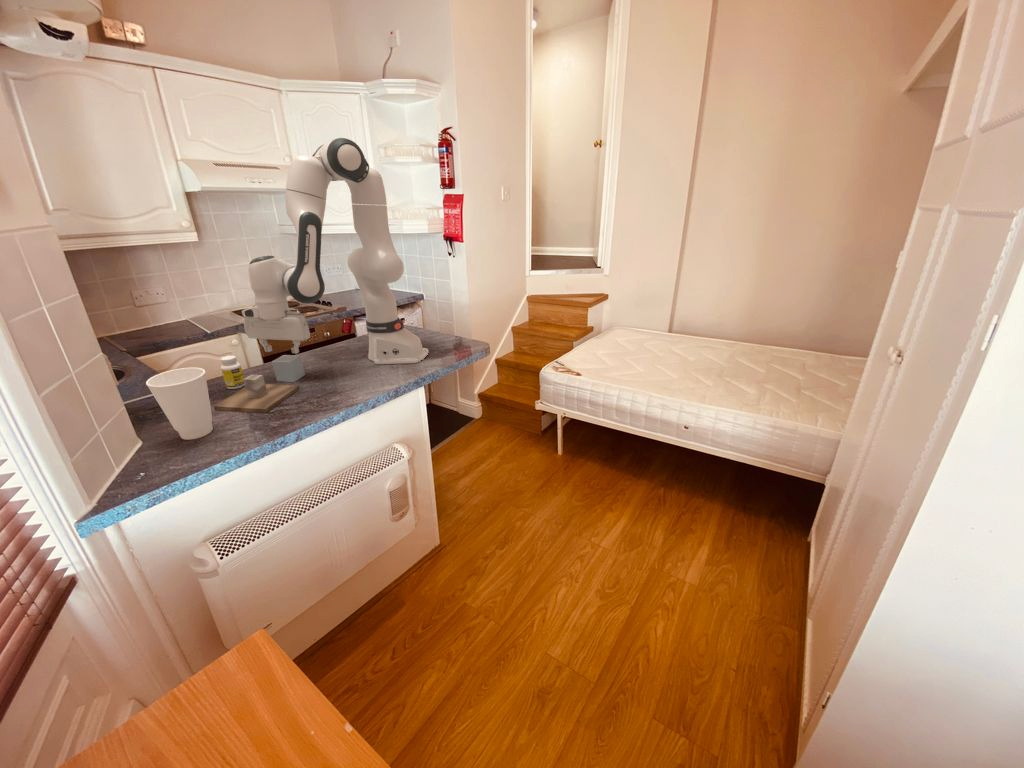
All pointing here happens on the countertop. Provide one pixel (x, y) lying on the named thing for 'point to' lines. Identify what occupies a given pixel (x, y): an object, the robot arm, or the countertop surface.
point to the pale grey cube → (288, 368)
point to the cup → (184, 400)
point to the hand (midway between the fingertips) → (282, 352)
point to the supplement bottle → (232, 372)
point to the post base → (262, 402)
